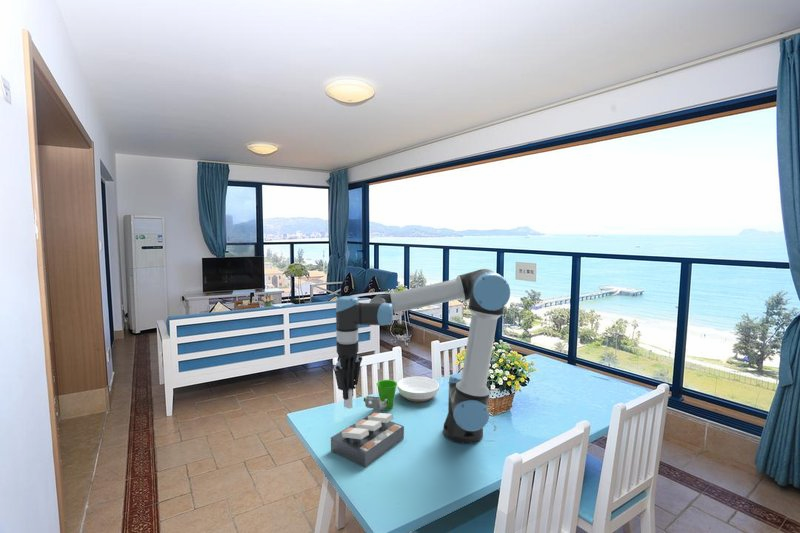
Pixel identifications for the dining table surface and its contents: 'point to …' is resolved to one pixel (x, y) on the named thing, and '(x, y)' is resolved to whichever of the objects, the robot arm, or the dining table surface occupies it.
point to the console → (368, 443)
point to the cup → (387, 392)
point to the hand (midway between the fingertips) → (348, 406)
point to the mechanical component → (375, 403)
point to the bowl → (418, 388)
